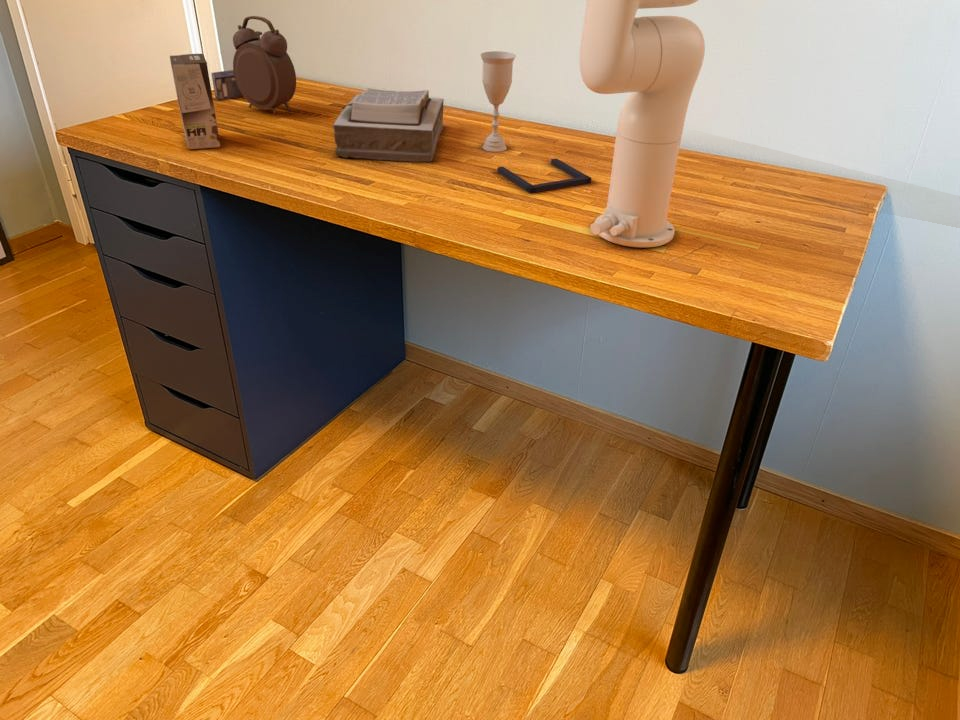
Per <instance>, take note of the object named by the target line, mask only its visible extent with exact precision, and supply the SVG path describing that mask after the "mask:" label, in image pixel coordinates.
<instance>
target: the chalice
mask: <svg viewBox="0 0 960 720" xmlns="http://www.w3.org/2000/svg"><path fill="white" fill-rule="evenodd" d="M516 57H517V56H516V54H515V53H513V52H509V51H498V50H497V51H491V50H490V51H485V52H481V53H480V58H481V60H482V78H481V79H482V80H481V81H482V82H481V83H482V85H483V89H484V92H485V95H486V97H487V100H488V102H489V104H491V105H492V106H493V111H492V113H491V116H492V118H493V120H492V121H491V126H492V132H491V134H489V135H487V137H486V138H485V141H484V143H483V145H482V146H481V147H482V149H483V150H484V151H487V152H491V153H492V152H494V153H497V152H499V153H500V152H503V151H504V152H505V151H506V150H507V146H506V142H505V139H504V137H503V136H502V135H500V133H499V132H498V129H499V126H500V124H501V123H500V122H499V116H500V112H499V107H500V105H502V104H504V102H505V100H506V98H507V95H508V94H509V92H510V89H511V86H512V82H513V66H514V65H513V64H514V60H515V59H516Z"/></svg>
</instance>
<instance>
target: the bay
mask: <svg viewBox="0 0 960 720" xmlns="http://www.w3.org/2000/svg"><path fill="white" fill-rule="evenodd" d="M550 160H551V161H550V164H551V165H552V166H553V167H554V168H555V167H556V168H557V169H558V170H560V171H562V172H564V173H566V174H568V176H569V175H570V176H571V177H572V178H568V179H567V178H566V179H561V180H555V181H549V182H542V183H536V184H532V183H530V182H529V181H527V180H525V179H523V178H522V177H521V176H519V175H517V174H516V173H514V172H512V171H511V170H510V169H507V167H504V166H497V173H498V174H500V175H501V176H503V177H504V178H505V179H507V180H508V181H510V182H511V183H513V184H515V185H516V186H518V187H520V189H523V190H524V191H525V192H527V193H528V194H534V193H535V194H536V193H540V192H547V191H551V190H552V191H553V190H558V189H564V188H570V187H576V186H582V185H588V184H592V177H591V176H589V175H588V174H586V173H584V172H582V171H580V170H578V169H577V168H575V167H573V166H571V165H569V164H567V163H566V162H564V161H562V160H560V159H558V158H551V159H550Z"/></svg>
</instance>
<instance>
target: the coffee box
mask: <svg viewBox="0 0 960 720" xmlns="http://www.w3.org/2000/svg"><path fill="white" fill-rule="evenodd" d="M169 61H170V66H171V72H172V76H173V77H172V78H173V83H174V86H175V87H174V88H175V92H176V93H175V94H176V97H177V103H178V107H179V113H180V119H181V123H182V126H183V133H184V136H185V140H186V145H187V149H188V150H198V149H199V150H201V149H213V148H220V147H221V141H220V134H219V129H218V122H217V117H216V110H215V103H214V98H213V91H212V86H211V80H210V74H209V68H208V62H207V59H206V58H205V55H204V53H186V54H179V55H178V54H177V55H176V54H175V55H169Z"/></svg>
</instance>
